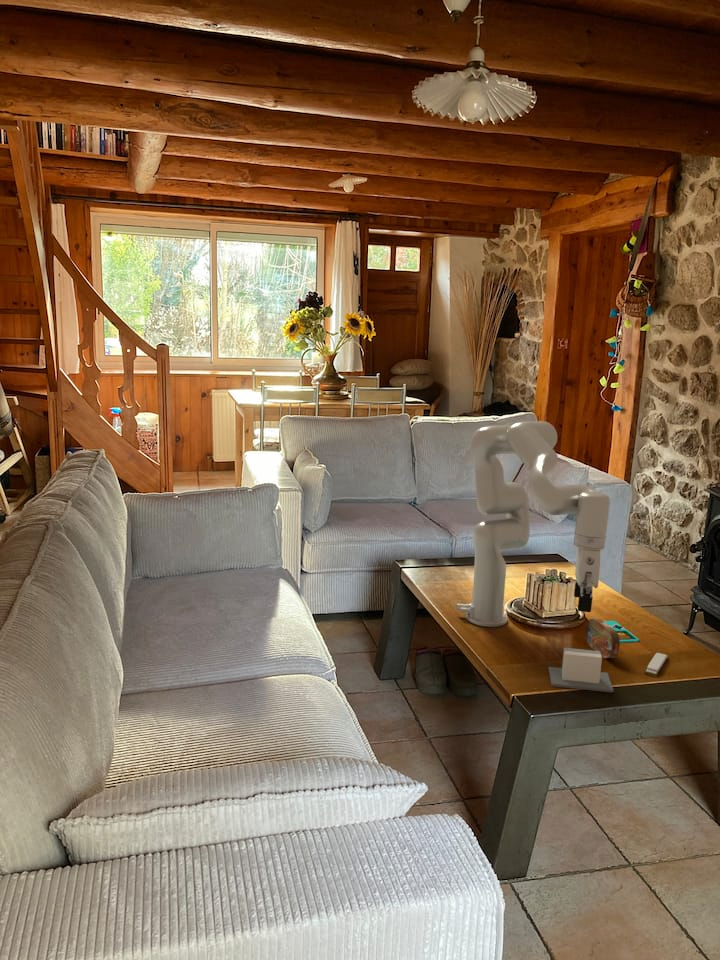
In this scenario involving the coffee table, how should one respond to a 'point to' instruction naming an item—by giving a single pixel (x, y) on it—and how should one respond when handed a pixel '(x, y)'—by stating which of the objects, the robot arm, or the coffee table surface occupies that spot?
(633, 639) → the handheld gaming console
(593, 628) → the tin
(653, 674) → the harmonica
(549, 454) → the robot arm
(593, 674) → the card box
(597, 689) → the mat
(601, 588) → the coffee table surface
